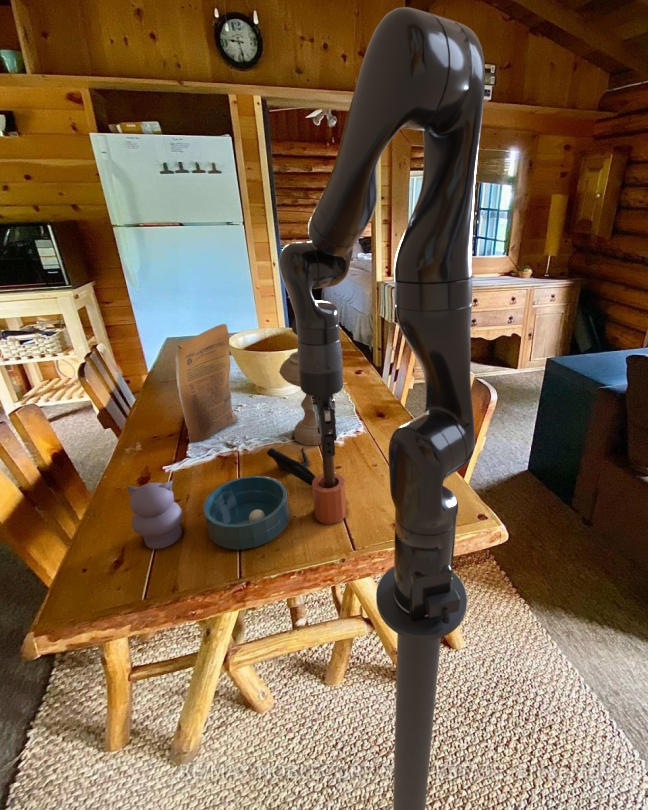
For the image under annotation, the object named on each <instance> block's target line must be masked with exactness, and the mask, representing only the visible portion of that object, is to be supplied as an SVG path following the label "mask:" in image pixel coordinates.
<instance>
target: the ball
mask: <svg viewBox="0 0 648 810" xmlns="http://www.w3.org/2000/svg"><path fill="white" fill-rule="evenodd" d="M264 517H265V514H264V512H263V511H261V510H254V511H252V512H251V513H250V515H249V520H250V522H254V521H257V520H259V519H262V518H264Z"/></svg>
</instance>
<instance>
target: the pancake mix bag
mask: <svg viewBox="0 0 648 810" xmlns="http://www.w3.org/2000/svg"><path fill="white" fill-rule="evenodd" d="M228 329H229V328H228V325H227V323H221V324H218V325H215V326H214V327H212V328H211V327H210V328H209V329H207V330H205V331H202V332H201V333H199V334H198V335H196V336H193V337H191V338H188V339H186V340H182V341H181V342H178V343H177V346H178V348H175V350H174V351H175V353H174V354H175V358H174V359H175V361H174V362H175V375H176V385H177V390H178V397H179V400H180V404H181V409H182V412H183V417H184V421H185V425H186V428H187V432H188V441H189V443H192V442H194V443H195V442H202V441H205V440H208V439H210V438H212V437H213V436H214V435H217V434H218V433H219V432H221V431H223V430H225V429H226V428H228V427H230V426H231V425H233V424H234V423H236V421H237V418H236V412H235V411H234V409H233V404H232V392H231V391H232V389H231V384H230V372H231V357H230V335H229V330H228Z"/></svg>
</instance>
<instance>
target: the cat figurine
mask: <svg viewBox="0 0 648 810" xmlns="http://www.w3.org/2000/svg"><path fill="white" fill-rule="evenodd" d="M126 488H127V491H128V494H129V496H130V498H129V507H130V509H131V511H132V512H133V515H132V517H131V523H130V524H131V525H130V526H131V528H132V529H133V531H134V532H135V533H136V534H137V535H139V536H141V537H142V538H143V541H144V544H145V545H146V547H148V548H149V549H154V550H158V549H159V550H160V549H164V548H167V547H169V546H171V545H173V544H174V543H176V542H177V541H178V540H179V539H180V538H181V536H182V527H181V524H180V523H181V521H182V520H183V509H182V507H180V505H179V504H178V503H177V502H176V501H174V500H175V494H174V492H173V490H172V489H173V480H169V481H167V482H164V483H161V482H160V483H159V482H150V483H146V484H143V485H141V486H139V487H138V486H130V485H126Z"/></svg>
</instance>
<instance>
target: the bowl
mask: <svg viewBox="0 0 648 810" xmlns="http://www.w3.org/2000/svg"><path fill="white" fill-rule="evenodd" d="M254 510H261V511H263V512H264V514H265V517H264V518H262V519H259V520H257V521H254V522H250V520H249V515H250V513H251V512H252V511H254ZM202 511H203V512H202V513H203V516H204V520H205V526H206V528H207V533H208V535H209V538H210V540H211V541H212V542H213V543H215V544H216V545H217V546H218V547H221V548H224V549H228V550H247V549H252V548H258V547H259V546H262V545H264V544H267V543H269V542H271V541H273V540H274V539H275V538H277V537H278V536H279V535H280V534H281V533H283V531H284V530H285V529H286V528H287V525H288V523H289V521H290V509H289V501H288V493H287V489H286V487H285V486H284V484H283V483H282V482H281V481H279V480H278V479H276V478H272V477H269V476H265V475H249V476H241V477H238V478H235V479H231V480H228V481H227V482H224V483H223V484H220V485H219V486H217V487H215V489H213V490H212V491H211V492H210V493H209V495H208V496H207V497H206V499H205V500H204V502H203V508H202Z"/></svg>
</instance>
